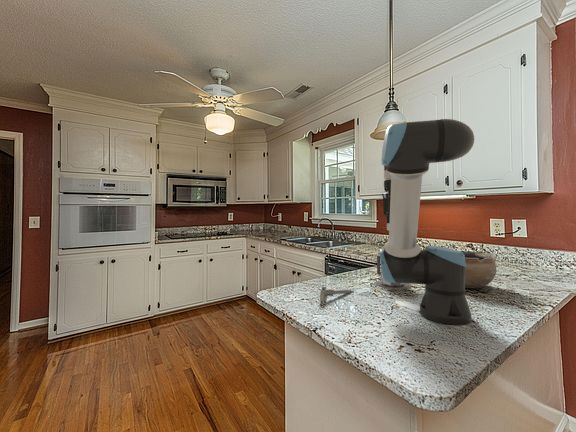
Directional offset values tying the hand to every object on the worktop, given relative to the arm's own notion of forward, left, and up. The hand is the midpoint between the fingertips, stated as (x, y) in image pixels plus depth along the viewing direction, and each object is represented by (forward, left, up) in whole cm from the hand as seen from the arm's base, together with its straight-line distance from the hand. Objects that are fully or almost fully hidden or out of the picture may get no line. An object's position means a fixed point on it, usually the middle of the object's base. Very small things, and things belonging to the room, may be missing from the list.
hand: (392, 230), depth 126 cm
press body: (+2, 0, -25) cm, 26 cm away
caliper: (+6, +31, -27) cm, 42 cm away
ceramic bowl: (-22, -26, -27) cm, 43 cm away
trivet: (0, 0, -26) cm, 26 cm away
